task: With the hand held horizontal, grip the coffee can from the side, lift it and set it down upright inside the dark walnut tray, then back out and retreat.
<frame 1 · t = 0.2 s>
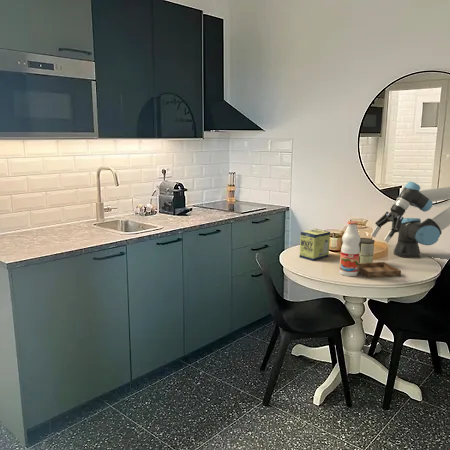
hand: (379, 238, 256), 14 cm above the table, tool tilted 35°, fingers open, 13 cm apart
coffee can: (363, 264, 257), on the table
protein box: (314, 257, 270), on the table
tray: (376, 272, 242), on the table
fruit juice: (348, 274, 238), on the table
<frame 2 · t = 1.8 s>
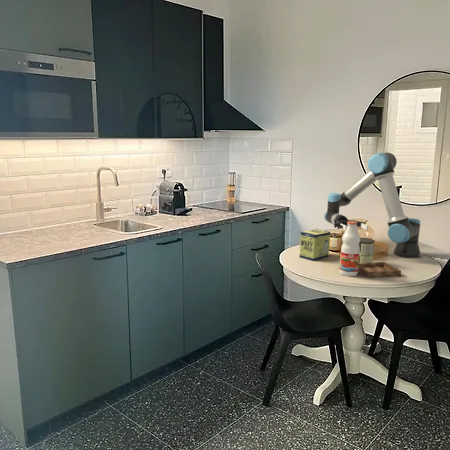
hand: (356, 228, 263), 19 cm above the table, tool horizontal, fingers open, 13 cm apart
nothing on the table moved.
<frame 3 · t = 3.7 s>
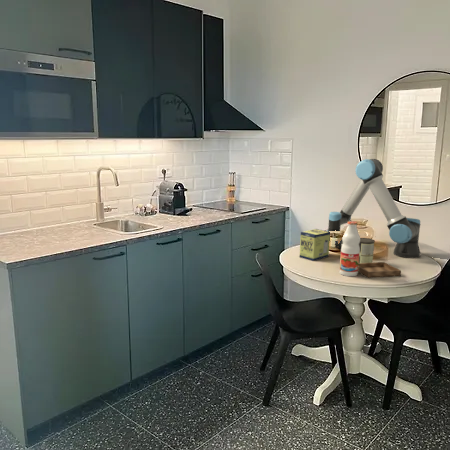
hand: (357, 248, 262), 7 cm above the table, tool horizontal, fingers open, 13 cm apart
nothing on the table moved.
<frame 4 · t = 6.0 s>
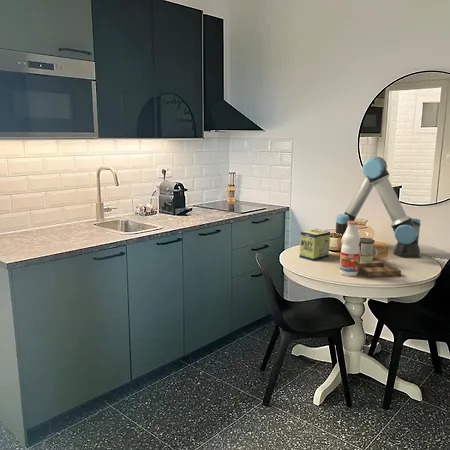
hand: (368, 252, 252), 8 cm above the table, tool horizontal, fingers closed on coffee can, 10 cm apart
coffee can: (363, 264, 257), on the table, touching gripper
everything else where it was.
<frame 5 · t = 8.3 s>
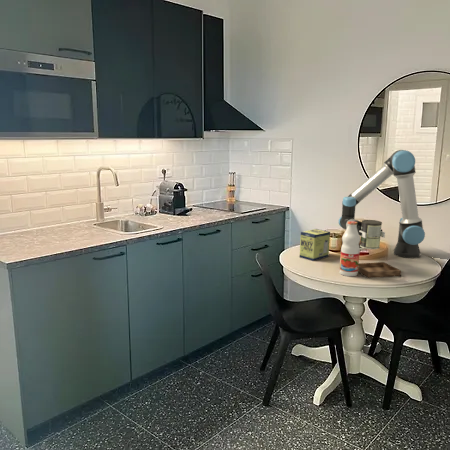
hand: (374, 235, 239), 20 cm above the table, tool horizontal, fingers closed on coffee can, 10 cm apart
coffee can: (369, 247, 245), point 12 cm above the table, touching gripper
everything else where it was.
when the fingers open (10 cm above the table, at t = 11.2 s): coffee can drops 1 cm, resting on tray.
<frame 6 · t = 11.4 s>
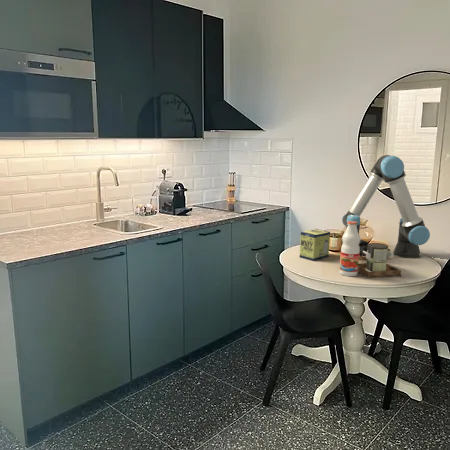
hand: (381, 256, 236), 10 cm above the table, tool horizontal, fingers open, 13 cm apart
coffee can: (375, 271, 242), point 1 cm above the table, touching tray
everything else where it was.
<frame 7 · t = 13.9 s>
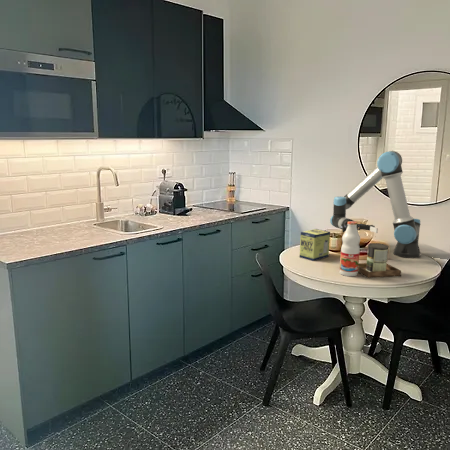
hand: (366, 231, 252), 19 cm above the table, tool horizontal, fingers open, 13 cm apart
nothing on the table moved.
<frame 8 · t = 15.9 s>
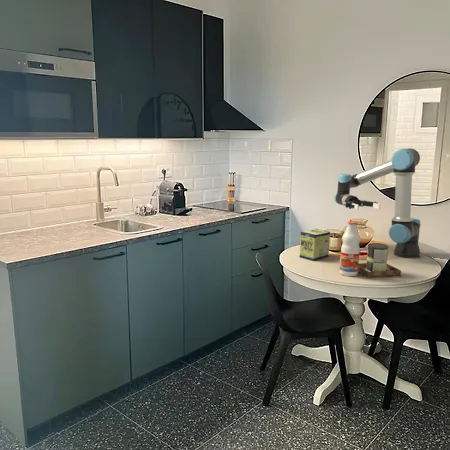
hand: (369, 207, 255), 32 cm above the table, tool horizontal, fingers open, 13 cm apart
nothing on the table moved.
at the end: coffee can inside the target area (0.1 cm from its centre), point 0.6 cm above the table; coffee can tilted 0°; the gripper is holding nothing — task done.
